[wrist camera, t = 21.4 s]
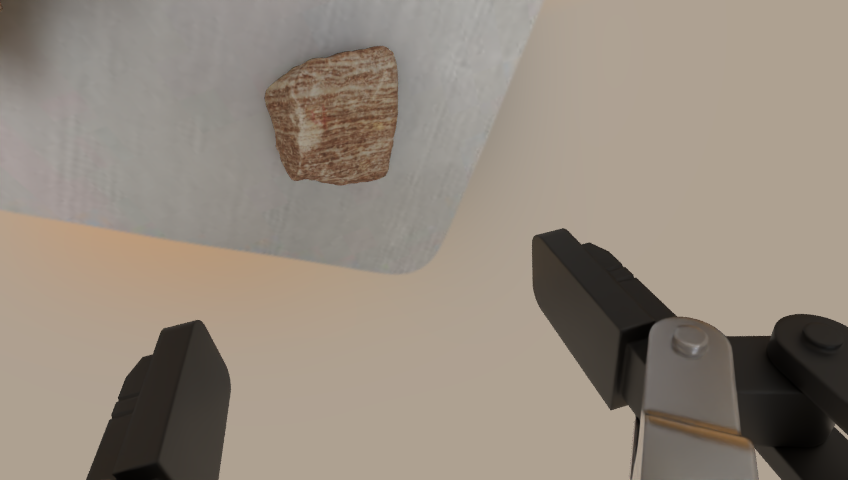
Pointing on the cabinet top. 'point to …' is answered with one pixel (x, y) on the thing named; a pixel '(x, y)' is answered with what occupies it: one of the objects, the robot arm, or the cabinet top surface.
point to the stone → (337, 116)
